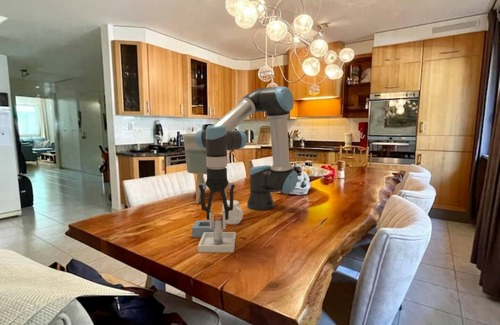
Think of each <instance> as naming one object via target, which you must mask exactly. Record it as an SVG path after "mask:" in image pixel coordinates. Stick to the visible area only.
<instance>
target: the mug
mask: <svg viewBox="0 0 500 325" xmlns="http://www.w3.org/2000/svg"><path fill="white" fill-rule="evenodd" d="M226 200H227V204H228V207H230V199H226ZM221 208H222V209H221V212H222V213H221V214H222V215H223V211H224V210H225V209H224V205H223V203H222V207H221ZM243 217H244V212H243V208H241V206H240V201H239V200H235V199H233V210H230V211H229V218H228V220H226V225H238V224H240V223H241V221H242V220H243Z"/></svg>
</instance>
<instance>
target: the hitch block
mask: <svg viewBox="0 0 500 325" xmlns="http://www.w3.org/2000/svg"><path fill="white" fill-rule="evenodd" d="M204 232H214V228H213V227H212V229H210V220H207V219H205V220H195V222H194V224H193V225H192V227H191V237H192V238H202V236H203V233H204Z"/></svg>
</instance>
